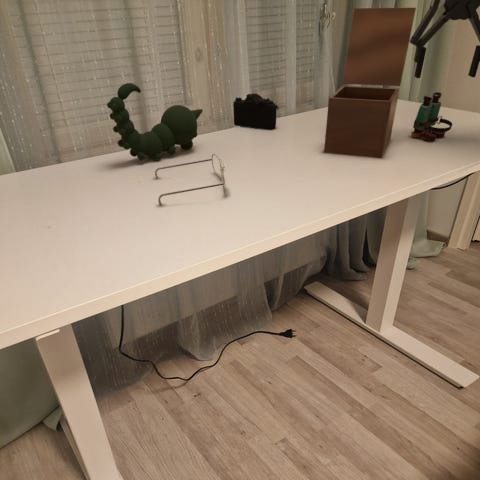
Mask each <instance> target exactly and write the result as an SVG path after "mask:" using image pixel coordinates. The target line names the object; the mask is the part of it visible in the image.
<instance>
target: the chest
mask: <svg viewBox="0 0 480 480" xmlns="http://www.w3.org/2000/svg"><path fill="white" fill-rule="evenodd" d="M399 94H400V88H399V87H383V86H361V85H360V86H358V85H357V86H355V85H342V86H341V87H339V88H338V89H337V90H336V91H335V92H333V94H331V96H329V98H328V102H327V103H328V104H327V115H326V125H325V135H324V136H325V137H324V147H323V153H324V154H336V155H344V156H356V157H363V158H364V157H365V158H366V157H367V158H376V159H383V157H384V154H385V152H386V150H387V148H388V146H389V143H390V142H391V138H392V132H393V127H394V122H395V115H396V110H397V104H398V99H399Z"/></svg>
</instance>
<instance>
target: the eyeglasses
mask: <svg viewBox="0 0 480 480" xmlns="http://www.w3.org/2000/svg"><path fill="white" fill-rule="evenodd" d="M214 156H215V158H217V159H218V163H219V167H220V174H221V176H220V175H218V173H217V172H216V170H215V166H214V160H213V157H214ZM205 162H211V165H212V169H213V171H214V174H215V175H216V176H217V177H218V178H219V179H221V180H222V183H217V184H211V185H207V186H206V185H205V186H202V187H194V188H189V189H184V190H178V191H177V190H176V191H172V192H167V193H162V194H160V195H159V197H158V200H157V201H158V205H159V207H160V206H162V205H163V204H162V202H161V201H162V200H161V198H162V197H164V196H165V197H166V196H170V195H177V194H182V193H187V192H192V191H193V192H194V191H197V190H204V189H209V188H214V187H220V186H222V187H223V195H224V197H225V196H227V195H228V191H227V184H226V181H225V173H224V172H225V168H226V167H225V165H224V162H223V160H222V159H221V158H219V156H218V155H217V154H215V153H212V154H211V158H209V159H203V160H198V161H191V162H186V163H179V164H174V165H168V166H167V165H166V166H162V167H158V168H156V169H155V171H154V175H155V179H159V176H158V171H159V170H166V169H171V168H177V167H181V166H187V165H194V164H200V163H205Z"/></svg>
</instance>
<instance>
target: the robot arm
mask: <svg viewBox="0 0 480 480" xmlns="http://www.w3.org/2000/svg"><path fill="white" fill-rule="evenodd" d="M442 5H443V9H444V11H443V12H442V13H441V15H440V16H439V17H438V18H437V20H436V21H435V22H434V23H433V24H432V25H431V26H430V27H429V28H428V29H427V27H428V26H429V25H430V23H431V21H432V20H433V19H434V16H435V15H436V13H437V11H438V10H440V9H441V7H442ZM478 8H480V0H431V1H430V5H429V8H428V10H427V11H426V13H425V14H424V16H423V17H422V20H421V21H420V23H419V24H418V26H417V27H416V29H415V31H414V33H413V34H412V36H410V40H409V44H411V45H413V46H415V52H414V57H413V61H414V63H415V64H416V66H415V71H414V78H416V79H421V76H422V71H423V66H424V63H425V59H426V58H425V57H426V52H427V47H425V45H426V44H427V43H428V42H429V41H430V40H431V39H432V38H433V37H434V36H435V35H436V34H437V33H438V32H439V30H441V29H442V27H443V26H444V25H445V24H446V23H448V22H449V21H459V20H461V21H466V20H468V21H469V22H470V24H471V27H472V29H473V31H474V34H475V35H476V37H477V39H478V42H479V43H480V16H479V13H478V11H477V10H478ZM426 29H427V30H426ZM425 31H426V32H425ZM479 65H480V44H479V45H475V49H474V53H473V56H472V60H471V63H470V66H469V71H468V74H467V75H468V76H469V77H471V78H476V75H477V73H478V68H479Z"/></svg>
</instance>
